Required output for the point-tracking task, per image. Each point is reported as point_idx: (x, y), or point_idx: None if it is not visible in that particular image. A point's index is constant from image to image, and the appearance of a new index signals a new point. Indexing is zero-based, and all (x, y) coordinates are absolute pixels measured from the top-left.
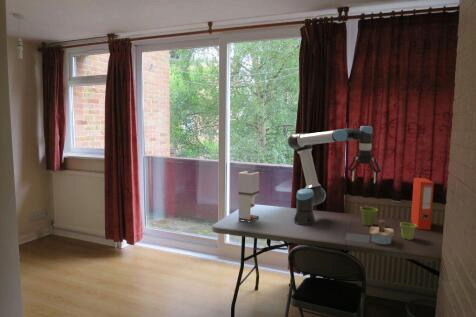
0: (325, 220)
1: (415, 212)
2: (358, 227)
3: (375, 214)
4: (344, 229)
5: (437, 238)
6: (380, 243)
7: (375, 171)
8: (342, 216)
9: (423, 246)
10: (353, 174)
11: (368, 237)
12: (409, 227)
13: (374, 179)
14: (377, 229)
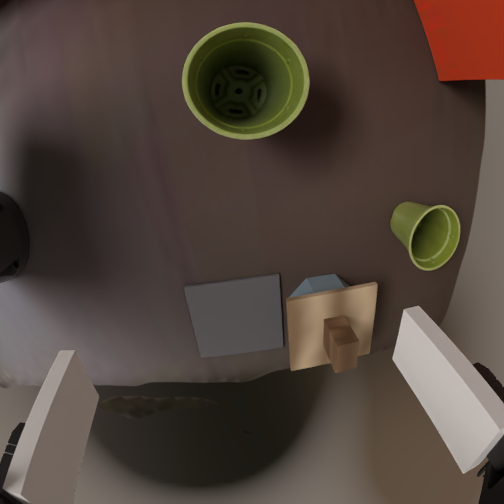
0: (38, 152)
1: (463, 26)
2: (203, 170)
3: (289, 96)
4: (154, 238)
5: (479, 174)
6: None
7: (490, 486)
8: (88, 29)
9: (434, 276)
10: (75, 483)
11: (274, 298)
12: (434, 265)
13: (421, 392)
14: (318, 327)
